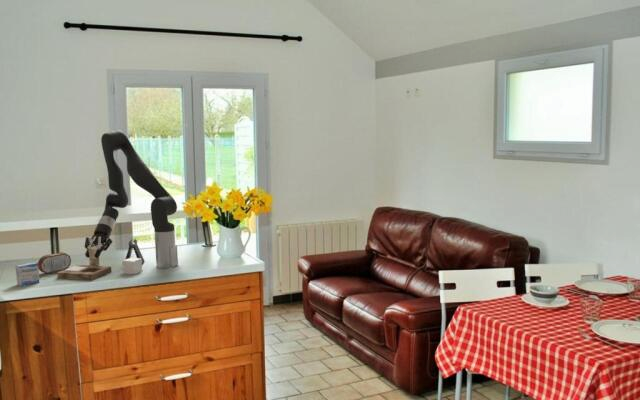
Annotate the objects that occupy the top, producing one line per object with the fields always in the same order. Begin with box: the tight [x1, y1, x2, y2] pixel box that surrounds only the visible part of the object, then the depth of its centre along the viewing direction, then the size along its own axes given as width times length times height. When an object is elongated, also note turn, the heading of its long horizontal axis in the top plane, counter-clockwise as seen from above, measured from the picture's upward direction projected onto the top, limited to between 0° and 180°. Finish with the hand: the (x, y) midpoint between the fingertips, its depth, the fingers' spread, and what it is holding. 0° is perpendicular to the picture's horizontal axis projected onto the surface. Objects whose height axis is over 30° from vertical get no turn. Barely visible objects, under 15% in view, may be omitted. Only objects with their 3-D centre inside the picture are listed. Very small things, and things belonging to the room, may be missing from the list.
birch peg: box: [88, 245, 101, 266], centre depth 283 cm, size 4×4×10 cm
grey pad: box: [64, 265, 87, 271], centre depth 271 cm, size 7×7×1 cm
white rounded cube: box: [122, 257, 143, 275], centre depth 274 cm, size 6×6×6 cm
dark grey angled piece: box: [124, 238, 145, 266], centre depth 289 cm, size 9×6×12 cm, turn 98°
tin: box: [37, 252, 72, 274], centre depth 277 cm, size 15×3×8 cm, turn 141°
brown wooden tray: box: [56, 264, 112, 281], centre depth 270 cm, size 18×14×2 cm
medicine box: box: [15, 261, 40, 287], centre depth 258 cm, size 8×4×9 cm, turn 138°
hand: (91, 256), depth 281 cm, fingers closed on birch peg, 4 cm apart
